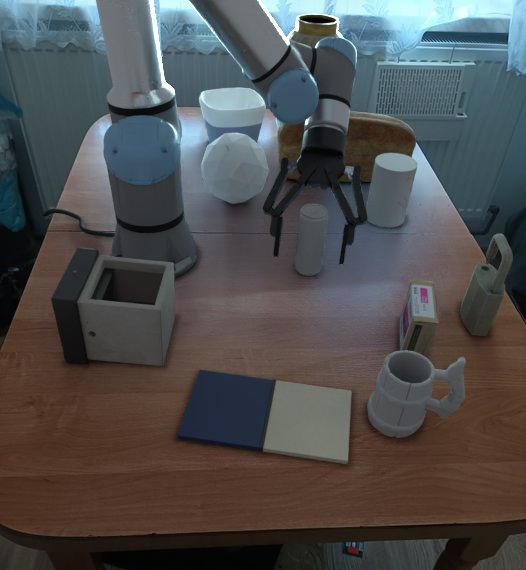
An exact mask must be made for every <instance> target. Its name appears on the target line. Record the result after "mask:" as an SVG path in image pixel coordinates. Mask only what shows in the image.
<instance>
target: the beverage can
mask: <svg viewBox="0 0 526 570" xmlns="http://www.w3.org/2000/svg"><path fill="white" fill-rule="evenodd" d="M328 221H329V210H328V208H327V207H326V206H324V205H322V204H319V203H307V204H304V205H303V206H302V207H301V208H300V211H299V218H298V226H297V227H298V229H297V238H296V252H295V262H294V263H295V264H294V269H295V270H296V272H297V273H299V274H300V275H302V276H305V277H313V276H316V275H317V274H319V273H320V272H321V270H322V266H323V265H322V264H323V258H324V251H325V250H324V249H325V243H326V237H327V228H328Z"/></svg>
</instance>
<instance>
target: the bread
mask: <svg viewBox="0 0 526 570" xmlns="http://www.w3.org/2000/svg"><path fill="white" fill-rule="evenodd" d="M304 127H305V121H304V122H302V123H299V124H294V125H289V124H285V123H283V124H282V125H281V126H280V127H279V129H278V128H277V147H278V149H277V153H278V154H277V155H278V168H279V170H280V169H281V161H282V159H283V158H284V157H286V158H288V160H293V161H298V159H299V158H300V156H301V149H302V142H303V135H304V132H305V129H304ZM346 138H347V139H346V147H345V154H344V163H345V166H350V167H355V166H356V165H359V166H360V167H361V172H360V182H370V183H371V180H372V175H373V169H374V164H375V159H376V157H377V156H378V155H381V154H384V153H399V154H403V155H407V156H409V157H411V158H413V155H414V150H415V148H416V145H417V136H416V133H415V130H414V129H412V127H411V126H410V125H409V124H408V123H406V122H405V121H403V120H402V119H398V118H396V117H393V116H390V115H387V114H382V113H375V112H367V111H358V110H350V117H349V124H348V132H347V134H346ZM300 176H301V175H300V173H299V171H298V170H297V168H295V169H294V170H293V171H292V173H290V174H288V176H287V179H289V180H295V181H297V180H298V178H299V177H300ZM338 181H339V182H344V183H345V182H347V183H348V182H349V183H350V182H352V180H349V179H348V176H347V174H345V173H344V174H343V175H342V176H341V177H340V178H339V179H338Z"/></svg>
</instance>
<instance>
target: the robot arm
mask: <svg viewBox="0 0 526 570" xmlns="http://www.w3.org/2000/svg"><path fill="white" fill-rule="evenodd" d="M187 1H188V2H189V4H190V5H191V7H192V8H193V9H194V10H195V11H196V12H197V14H198V15H199V16H200V17H201V19H202V20H203V21H204V23H205V24H206V25H207V26H208V28H209V29H210V30H211V32H212V33H213V34H214V36H215V37H216V38H217V39H218V40H219V42H220V43H221V44H222V46H223V48H225V49H226V50H227V52H228V53H229V54H230V56H231V57H232V58H233V60H234V61H235V62H236V63H237V65H238V66H239V67H240V68H241V70H242V76H243V77H244V79H245V80H249V81H251V84H253V86H254V87H255V88H256V90H257V91H258V92H259V94H260V95H261V97H262V98H263V99H264V101H266V105H267V108H268V109H269V111H270V112H271V113H272V115H273V117H274V118H275V117H276V118H277V119H278V120H279V121H280V122H282V123H285V124H289V125H294V124H299V123H302V122H304V121H305V127H304V129H305V132H304V135H303V142H302V149H301V156H300V158H299V159H298V161H293V160H288V158H286V157H284V158H283V159H282V161H281V169H280V168H279V173H278V174H277V176H276V177H275V180H274V182H273V184H272V185H271V188H270V190H269V193H268V194H267V196H266V198H265V200H264V202H263V204H262V207H261V209H262V212H263V214H264V215H267V216H269V217H270V219H271V220H270V226H269V234H270V236H271V237H273V238H274V243H273V251H272V255H273V257H274V258H279V255H280V247H281V240H282V232H283V225H284V218H283V216H282V215H283V214H284V213H285V211H287V209H288V208H289V207H290V206H291V205H292V203H293V202H294V201H295V200H296V198H297V197H298V196H299V195H300V194H301V193H302V192H303V191H304V190H305V189H306V187H309V188H310V189H316V188H318V189H321V190H328V189H330V191H331V193H332V195H333V196H334V199H335V201H336V203H337V205H338V207H339V209H340V211H341V213H342V215H343V217H344V219H345V221H346V223H344V225H343V231H342V238H341V246H340V254H339V260H338V265H341V266H344V263H345V259H346V253H347V252H346V251H347V246H353V244H354V241H355V235H356V228H358V227H359V226H365V225H366V224H367V221H368V220H367V219H368V217H367V212H366V203H365V199H364V193H363V189H362V188H363V187H362V184H361V183H362V182H361V181H360V172H361V167H360V166H359V165H356V166H355V167H350V166H345V163H344V154H345V147H346V139H347V138H346V134H347V132H348V124H349V117H350V111H351V105H352V99H353V95H354V94H353V93H354V87H355V81H356V77H357V64H358V63H357V62H358V60H357V59H358V53H357V48H356V46H355V45H354V44H353V42H352V41H350V40H348V39H346V38H344V37H343V38H341V37H338V38H333V37H327V38H324V39H322V40H321V41H319V42H318V44H317V45H316V48H315V47H314V48H313V47H310V46H307V45H304V44H301V43H298V42H294V41H291V40H288V39H287V37H286V36H285V33H284V32H283V31H282V29H281V28H280V27H279V26H278V24H277V22H276V21H275V19H274V17H272V15H271V13H269V11H268V9H267V8H266V6H265V5H264V4H263V2H262V1H261V0H187ZM95 4H96V8H97V14H98V18H99V23H100V27H101V33H102V39H103V42H104V47H105V52H106V57H107V62H108V68H109V72H110V76H111V77H110V78H111V81H112V86H111V89H110V90H109V91H108V93H107V94H106V102H107V107H108V111H109V116H110V121H111V125H110V126H109V127H108V128H107V129H106V130H105V132H104V136H103V150H102V151H103V159H104V162H105V165H106V168H107V174H108V175H107V176H108V181H109V186H110V192H111V198H112V204H113V209H114V215H115V220H116V224H115V229H114V232H111V231H109V232H108V231H101V230H96V229H95V230H94V229H90V228H87V227H85V220H84V217H82V216H81V215H79V214H77V213H75V212H72V211H69V210H67V209H62V208H50V209H48V210H45V211H44V212H43V213H42V217H49V215H52V214H59V215H64V216H68V217H70V218H73V219H75V220H76V221H78V226H79V230H80V231H81V232H82V233H85V234H87V235H92V236H98V237H105V238H113V240H112V244H111V256H112V257H122V258H132V259H142V260H152V261H162V262H172V263H174V279H175V278H177V277H180V276H182V275H184V274H185V273H187V272H189V270H191V269H192V268H193V266H194V265H195V264H196V262H197V259H198V249H197V243H196V240H195V238H194V235H193V234H192V231H191V229H190V227H189V224H188V222H187V220H186V217H185V208H184V194H183V181H182V179H183V178H182V137H183V129H182V123H181V119H180V118H179V117H180V116H179V113H178V107H177V100H176V99H177V98H176V93H175V92H176V91H175V89H174V88H173V87H172V86H171V85H170V84H169V83H167V82H166V80H165V75H164V69H163V63H162V62H163V61H162V55H161V49H160V41H159V34H158V25H157V19H156V13H155V6H154V5H155V4H154V0H95ZM276 118H275V119H276ZM295 168H297V170H298V171H299V173H300V175H301V176H300V177H299V178H298V180H295V181H296V182H295V183H294V184H293V185H292V186H291V188H290V189H289V190H288V191H287V192H286V194H285V195H284V196H283V197H282V198H281V200H280V201H279V202H278V203H277V204H276V205H275V203H276V201H277V200H278V197H279V195H280V193H281V191H282V189H283V187H284V186H285V183H286V181H287V179H288V178H287V176H288V174H290V173H292V171H293V170H294V169H295ZM344 173H345V174H347V176H348V179H349V180H352V181H351V189H352V190H351V191H352V194H353V199H354V200H353V201H354V204H355V209H356V214H357V216H355V213H354V212H353V210H352V208H351V205H350V203H349V201H348V199H347V197H346V195H345V193H344V191H343V189H342V187H341V184H340V181H338V179H339V178H340V177H341V176H342V175H343V174H344ZM274 205H275V206H274Z"/></svg>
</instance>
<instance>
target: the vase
mask: <svg viewBox="0 0 526 570" xmlns="http://www.w3.org/2000/svg"><path fill="white" fill-rule="evenodd" d="M339 24H340V21H339V18H338V17H335V16H333V15H328V14H321V13H307V14H300V15H298V16H297V17H296V19H295V28H294V29H293V30H292V31H290V33H289V34H288V36H287V37H286V38H287V39H288V40H291V41H294V42H298V43H301V44H304V45H307V46H310V47H313V48H314V47H315V48H316V45H317V44H318V42H319V41H321V40H322V39H324V38H327V37H333V38H338V37H341V38H344V37H343V35H342V34H341V33H340V32H339V31H338V30H339ZM274 118H275V124H276V127H277V130H278V129H279V127H280V126H281V125H282V124H283V123H282V122H280V121H279V120H278V119H277V118H276V117H275V116H274Z"/></svg>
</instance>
